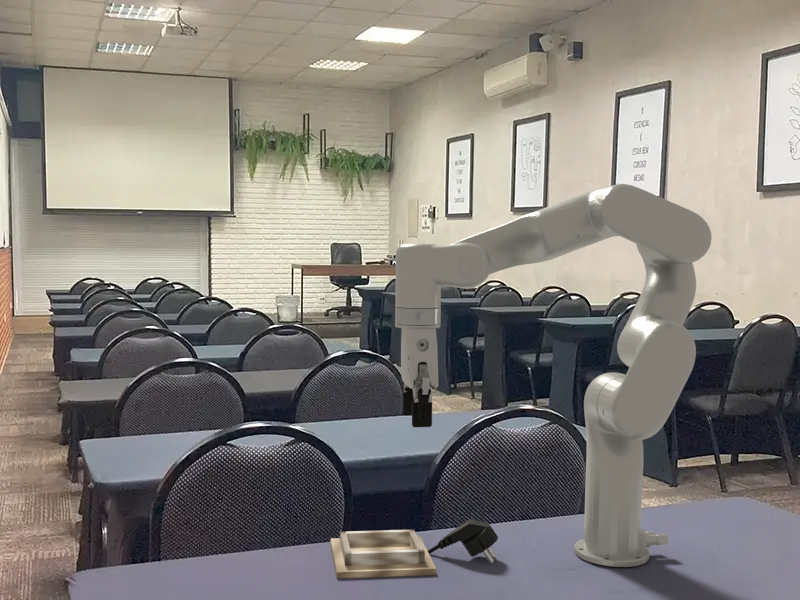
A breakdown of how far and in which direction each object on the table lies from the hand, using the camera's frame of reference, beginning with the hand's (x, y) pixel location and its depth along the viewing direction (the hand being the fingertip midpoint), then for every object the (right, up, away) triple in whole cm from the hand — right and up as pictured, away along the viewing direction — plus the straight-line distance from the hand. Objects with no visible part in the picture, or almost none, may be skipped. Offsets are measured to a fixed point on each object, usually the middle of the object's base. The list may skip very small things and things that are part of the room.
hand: (416, 420), depth 141 cm
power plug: (+8, -24, +3) cm, 26 cm away
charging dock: (-6, -24, +2) cm, 24 cm away
